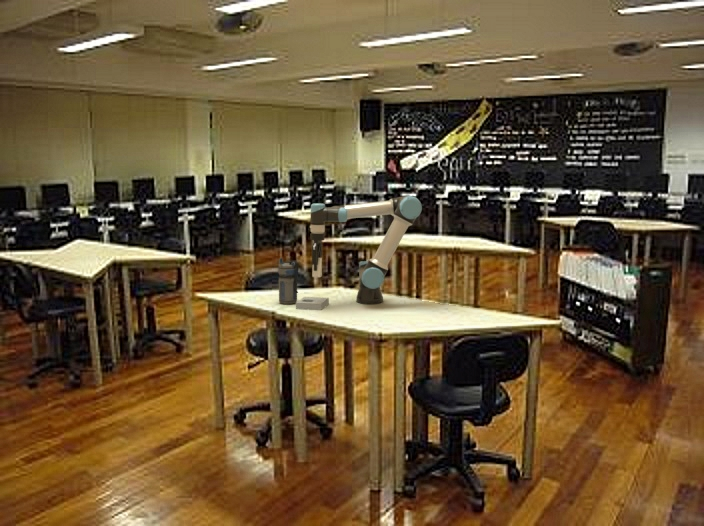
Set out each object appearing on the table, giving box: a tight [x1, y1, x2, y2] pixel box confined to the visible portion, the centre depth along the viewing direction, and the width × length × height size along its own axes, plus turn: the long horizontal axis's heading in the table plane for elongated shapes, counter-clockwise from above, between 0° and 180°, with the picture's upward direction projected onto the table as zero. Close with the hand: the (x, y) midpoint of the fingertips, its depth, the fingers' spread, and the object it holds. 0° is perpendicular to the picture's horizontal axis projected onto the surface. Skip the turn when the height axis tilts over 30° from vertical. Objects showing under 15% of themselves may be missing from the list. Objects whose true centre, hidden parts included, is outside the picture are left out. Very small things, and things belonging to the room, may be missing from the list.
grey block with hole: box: [295, 296, 330, 311], centre depth 339 cm, size 14×16×4 cm
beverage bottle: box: [277, 257, 300, 305], centre depth 347 cm, size 10×13×25 cm
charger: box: [311, 257, 323, 278], centre depth 333 cm, size 4×4×10 cm
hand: (316, 275), depth 334 cm, fingers closed on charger, 4 cm apart
